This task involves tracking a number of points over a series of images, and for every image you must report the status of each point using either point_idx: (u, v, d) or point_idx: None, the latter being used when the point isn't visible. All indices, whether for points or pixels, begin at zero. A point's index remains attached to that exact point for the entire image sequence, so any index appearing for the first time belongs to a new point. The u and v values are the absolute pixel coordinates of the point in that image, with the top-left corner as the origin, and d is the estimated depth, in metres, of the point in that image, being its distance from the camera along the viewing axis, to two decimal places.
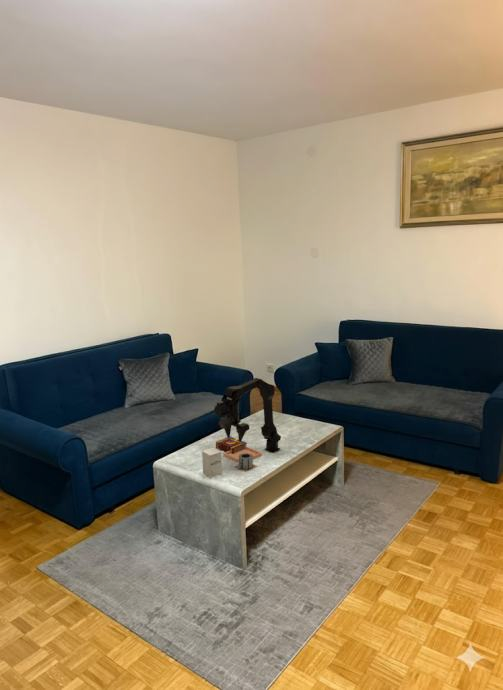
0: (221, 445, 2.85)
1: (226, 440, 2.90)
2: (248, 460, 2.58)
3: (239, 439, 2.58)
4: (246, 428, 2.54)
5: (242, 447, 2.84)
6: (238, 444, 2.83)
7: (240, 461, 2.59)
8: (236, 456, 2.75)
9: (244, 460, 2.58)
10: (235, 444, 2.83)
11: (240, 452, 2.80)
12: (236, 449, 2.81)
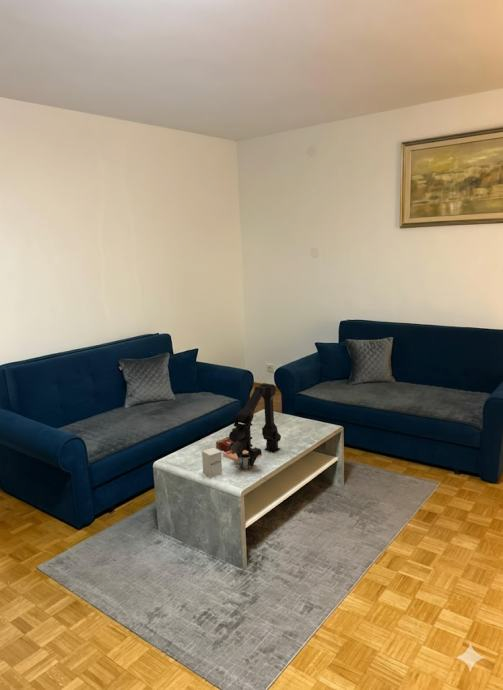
0: (221, 445, 2.85)
1: (226, 440, 2.90)
2: (248, 460, 2.58)
3: (251, 463, 2.58)
4: (258, 453, 2.54)
5: None
6: None
7: (240, 461, 2.59)
8: (236, 456, 2.75)
9: (244, 460, 2.58)
10: None
11: None
12: None
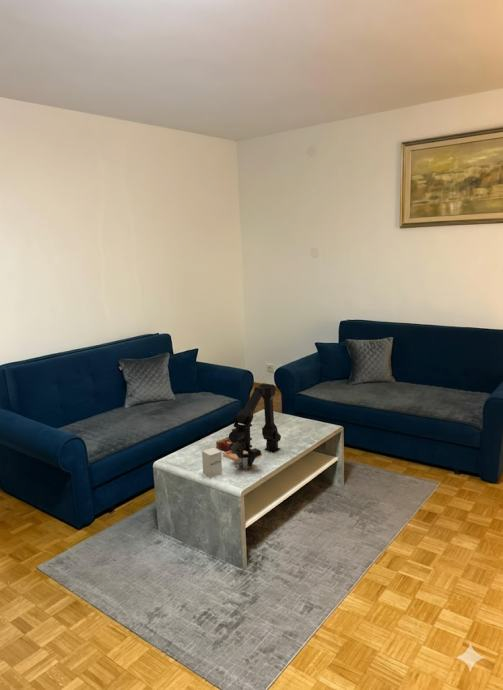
0: (221, 445, 2.85)
1: (227, 440, 2.90)
2: (247, 460, 2.58)
3: (249, 464, 2.58)
4: (258, 454, 2.54)
5: None
6: None
7: (240, 461, 2.59)
8: (236, 456, 2.75)
9: (243, 460, 2.58)
10: None
11: None
12: None
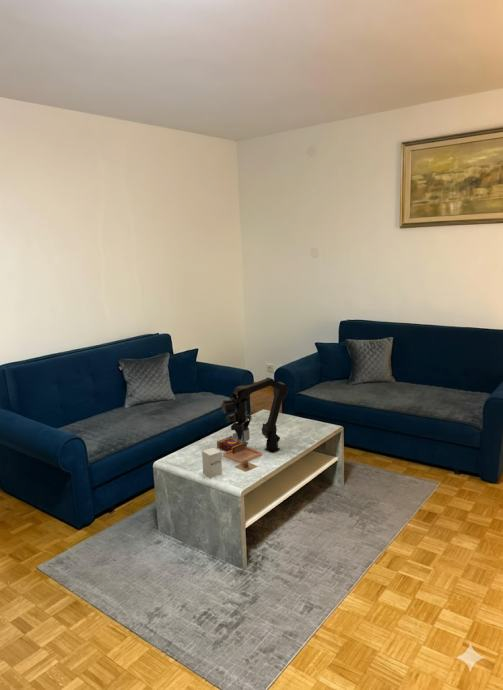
0: (222, 445, 2.85)
1: (227, 440, 2.90)
2: None
3: None
4: (237, 428, 2.63)
5: (243, 447, 2.84)
6: (239, 444, 2.84)
7: None
8: (236, 456, 2.75)
9: None
10: (236, 444, 2.84)
11: (240, 452, 2.80)
12: (237, 449, 2.81)
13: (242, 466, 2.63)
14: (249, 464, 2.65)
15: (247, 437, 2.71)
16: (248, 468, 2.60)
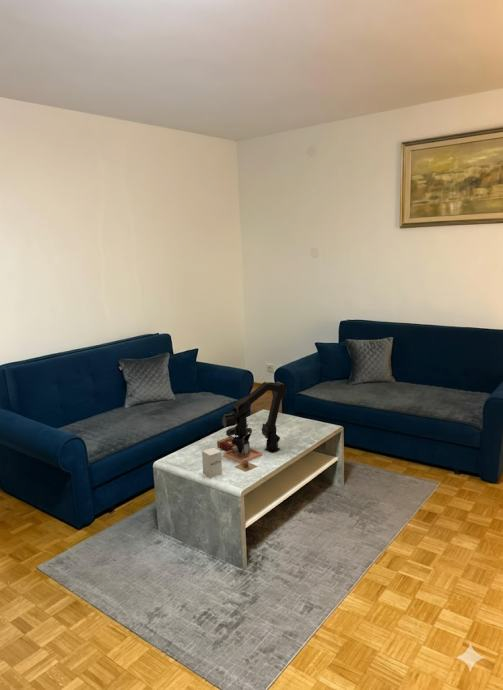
0: (222, 445, 2.85)
1: (227, 440, 2.90)
2: None
3: (238, 450, 2.71)
4: (237, 442, 2.65)
5: None
6: None
7: None
8: (236, 456, 2.75)
9: None
10: None
11: None
12: None
13: (242, 466, 2.63)
14: (249, 464, 2.65)
15: (247, 451, 2.73)
16: (248, 468, 2.60)
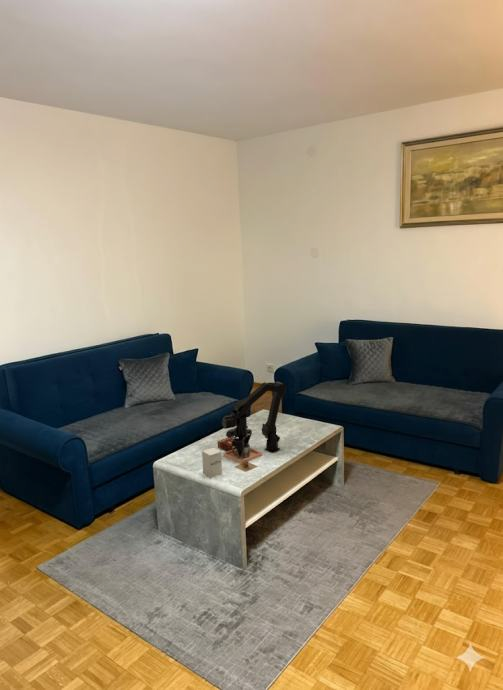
0: (223, 444, 2.85)
1: (228, 439, 2.90)
2: None
3: (238, 452, 2.71)
4: (237, 444, 2.65)
5: None
6: None
7: None
8: (236, 456, 2.75)
9: None
10: None
11: None
12: None
13: (242, 466, 2.63)
14: (249, 464, 2.65)
15: (248, 454, 2.73)
16: (248, 468, 2.60)
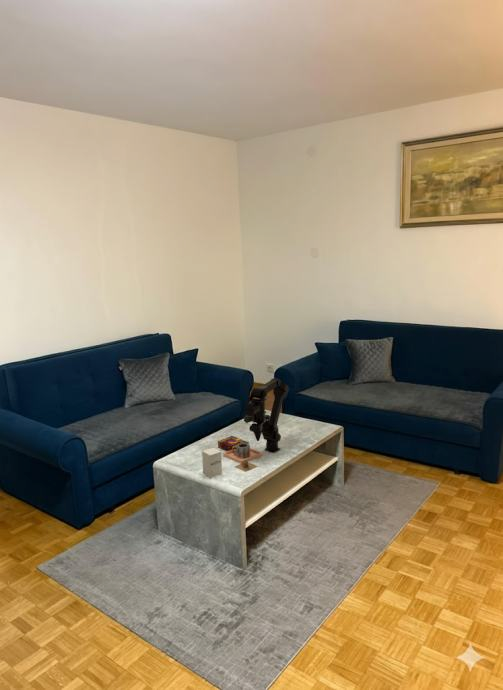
0: (223, 444, 2.85)
1: (228, 439, 2.91)
2: (239, 449, 2.72)
3: None
4: (255, 429, 2.61)
5: None
6: None
7: None
8: (236, 456, 2.75)
9: (236, 448, 2.74)
10: None
11: None
12: None
13: (242, 466, 2.63)
14: (249, 464, 2.65)
15: (248, 454, 2.73)
16: (248, 468, 2.60)
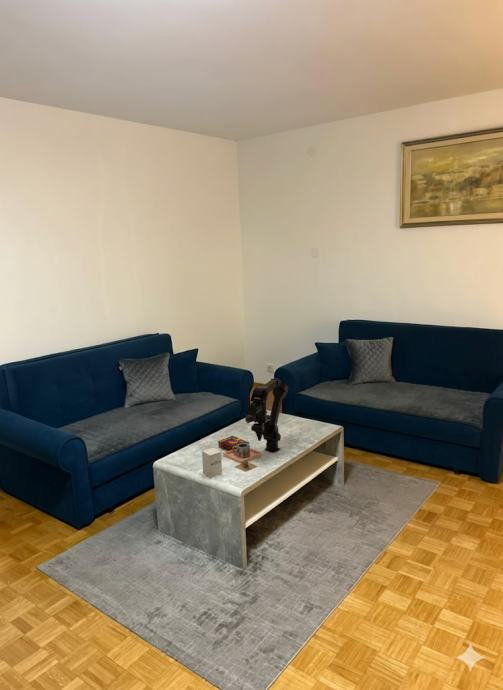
0: (223, 444, 2.86)
1: (229, 439, 2.91)
2: (239, 449, 2.72)
3: (257, 437, 2.66)
4: (257, 429, 2.60)
5: None
6: None
7: None
8: (236, 456, 2.75)
9: (236, 448, 2.74)
10: (237, 443, 2.84)
11: None
12: None
13: (242, 466, 2.63)
14: (249, 464, 2.65)
15: (248, 454, 2.73)
16: (248, 468, 2.60)
